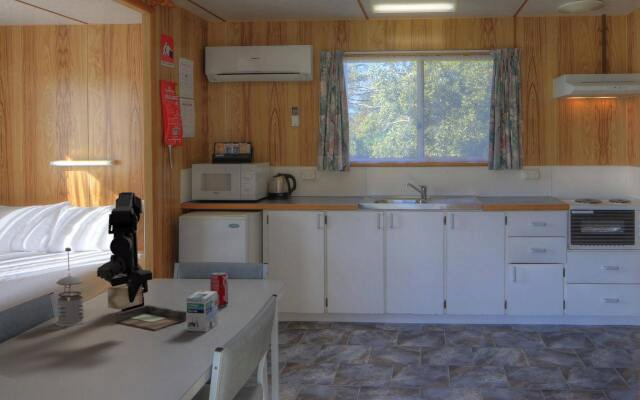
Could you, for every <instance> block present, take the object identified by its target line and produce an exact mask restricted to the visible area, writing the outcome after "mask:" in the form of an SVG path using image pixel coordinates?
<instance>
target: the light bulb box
mask: <svg viewBox="0 0 640 400" xmlns="http://www.w3.org/2000/svg"><path fill="white" fill-rule="evenodd" d="M218 310H219V307H218V304H217V291H210V290H197V291H196V292H193V293H192V294H191V295H189V296H187V297H186V317H187V321H186V324H187V331H189V332H200V333H201V332H204V333H207V332H209V331H210V330H211V329H212V328H214V327H216V325H218V324H219V319H218V318H219V312H218Z"/></svg>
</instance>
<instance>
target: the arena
mask: <svg viewBox="0 0 640 400" xmlns="http://www.w3.org/2000/svg"><path fill="white" fill-rule="evenodd" d="M186 320H187V311H185V310H179V309H174V308H168V307H163V306H156V305H151V304H147V305H144V306H142V307H139V308H135V309H131V310H128V311H124V310H123V311H122V312H117V313H115V323H116V324H121V325H125V326H131V327H135V328H138V329H139V328H141V329H144V330H149V331H155V332H156V331H159V330H162V329H165V328H168V327H170V326H169V325H171V326H174V325H177V323H178V324H181V323H183V321H184V322H187V321H186ZM180 322H181V323H180ZM173 324H174V325H173ZM167 326H168V327H167ZM164 327H165V328H164ZM161 328H162V329H161Z"/></svg>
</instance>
